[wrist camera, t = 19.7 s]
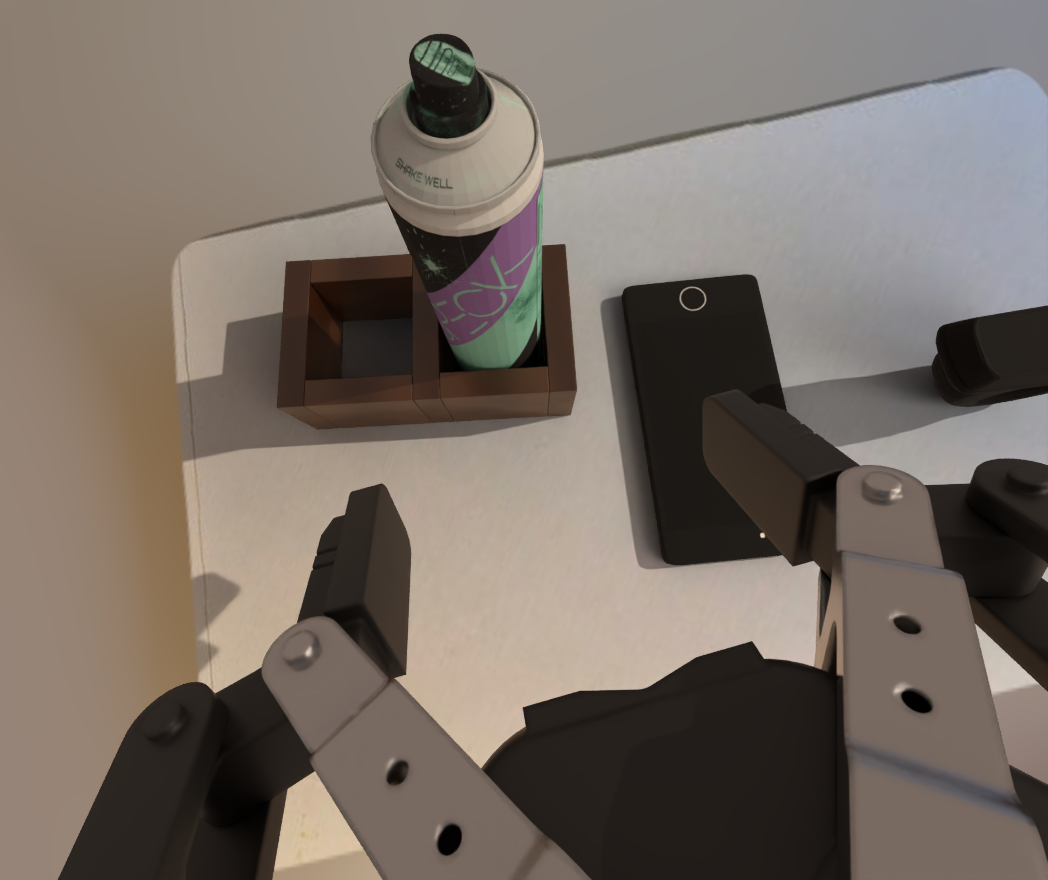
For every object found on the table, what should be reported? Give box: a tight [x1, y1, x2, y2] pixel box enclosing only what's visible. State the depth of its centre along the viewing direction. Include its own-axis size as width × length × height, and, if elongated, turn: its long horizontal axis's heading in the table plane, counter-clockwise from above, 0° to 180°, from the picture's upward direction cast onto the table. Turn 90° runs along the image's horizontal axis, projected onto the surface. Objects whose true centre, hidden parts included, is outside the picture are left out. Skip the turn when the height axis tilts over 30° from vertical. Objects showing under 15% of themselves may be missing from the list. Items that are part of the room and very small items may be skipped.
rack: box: [277, 244, 577, 429], centre depth 30 cm, size 16×9×5 cm, turn 93°
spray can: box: [371, 34, 543, 372], centre depth 22 cm, size 6×6×20 cm
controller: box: [932, 306, 1048, 407], centre depth 26 cm, size 4×12×10 cm, turn 98°
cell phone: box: [622, 274, 787, 565], centre depth 30 cm, size 9×18×1 cm, turn 6°
